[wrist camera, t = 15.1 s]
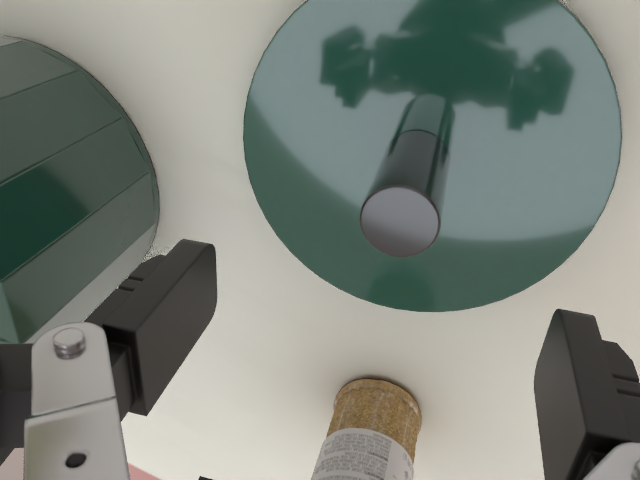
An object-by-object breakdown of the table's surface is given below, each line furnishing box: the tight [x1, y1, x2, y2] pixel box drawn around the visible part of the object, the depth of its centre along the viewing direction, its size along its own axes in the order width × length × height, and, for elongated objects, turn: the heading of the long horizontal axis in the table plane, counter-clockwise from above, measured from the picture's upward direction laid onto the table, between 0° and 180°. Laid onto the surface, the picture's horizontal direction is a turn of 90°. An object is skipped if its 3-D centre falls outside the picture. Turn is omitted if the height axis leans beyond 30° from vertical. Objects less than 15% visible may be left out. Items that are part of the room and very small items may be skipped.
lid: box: [243, 0, 622, 312], centre depth 19 cm, size 14×14×6 cm
